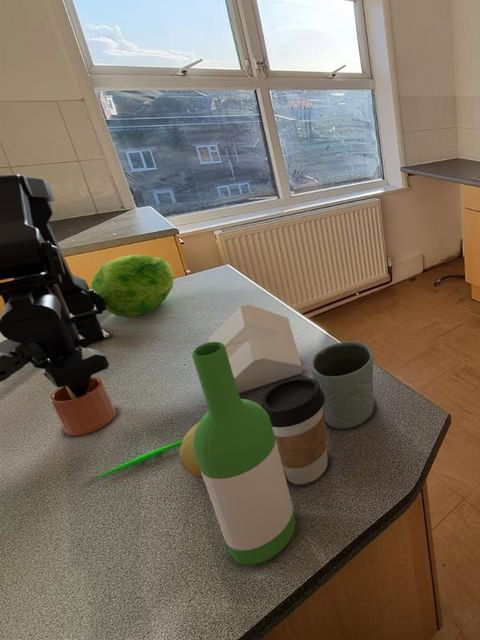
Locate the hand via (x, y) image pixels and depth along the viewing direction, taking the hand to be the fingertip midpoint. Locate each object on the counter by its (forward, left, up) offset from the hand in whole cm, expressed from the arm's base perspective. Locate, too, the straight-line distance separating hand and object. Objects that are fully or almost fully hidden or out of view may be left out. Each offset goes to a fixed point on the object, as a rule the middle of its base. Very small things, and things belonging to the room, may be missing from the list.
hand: (79, 394), depth 73 cm
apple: (+29, +7, -6) cm, 30 cm away
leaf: (+18, +1, -6) cm, 19 cm away
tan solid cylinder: (0, 0, -2) cm, 2 cm away
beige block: (+15, +22, -6) cm, 27 cm away
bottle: (+46, +3, -6) cm, 47 cm away
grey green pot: (+37, +25, -6) cm, 45 cm away
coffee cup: (+41, +13, -6) cm, 43 cm away
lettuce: (-39, +23, -6) cm, 46 cm away
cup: (0, 0, -6) cm, 6 cm away
